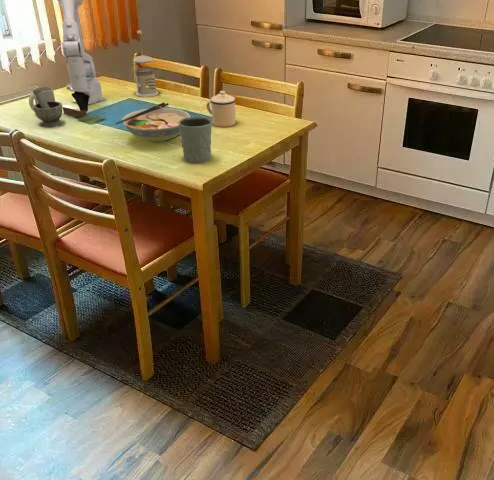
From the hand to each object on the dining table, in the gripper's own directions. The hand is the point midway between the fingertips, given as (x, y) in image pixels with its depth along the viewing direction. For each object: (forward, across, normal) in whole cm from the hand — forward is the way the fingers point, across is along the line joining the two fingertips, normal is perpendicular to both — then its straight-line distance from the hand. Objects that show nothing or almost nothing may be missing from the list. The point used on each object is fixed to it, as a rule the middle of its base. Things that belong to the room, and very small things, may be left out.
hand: (84, 111), depth 221 cm
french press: (+2, -4, +33) cm, 34 cm away
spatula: (+1, +1, -2) cm, 3 cm away
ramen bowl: (+2, +41, 0) cm, 41 cm away
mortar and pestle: (+2, -2, -14) cm, 14 cm away
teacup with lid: (+2, +46, +26) cm, 53 cm away
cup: (+2, -14, -8) cm, 16 cm away
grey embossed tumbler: (+2, +64, -4) cm, 64 cm away
